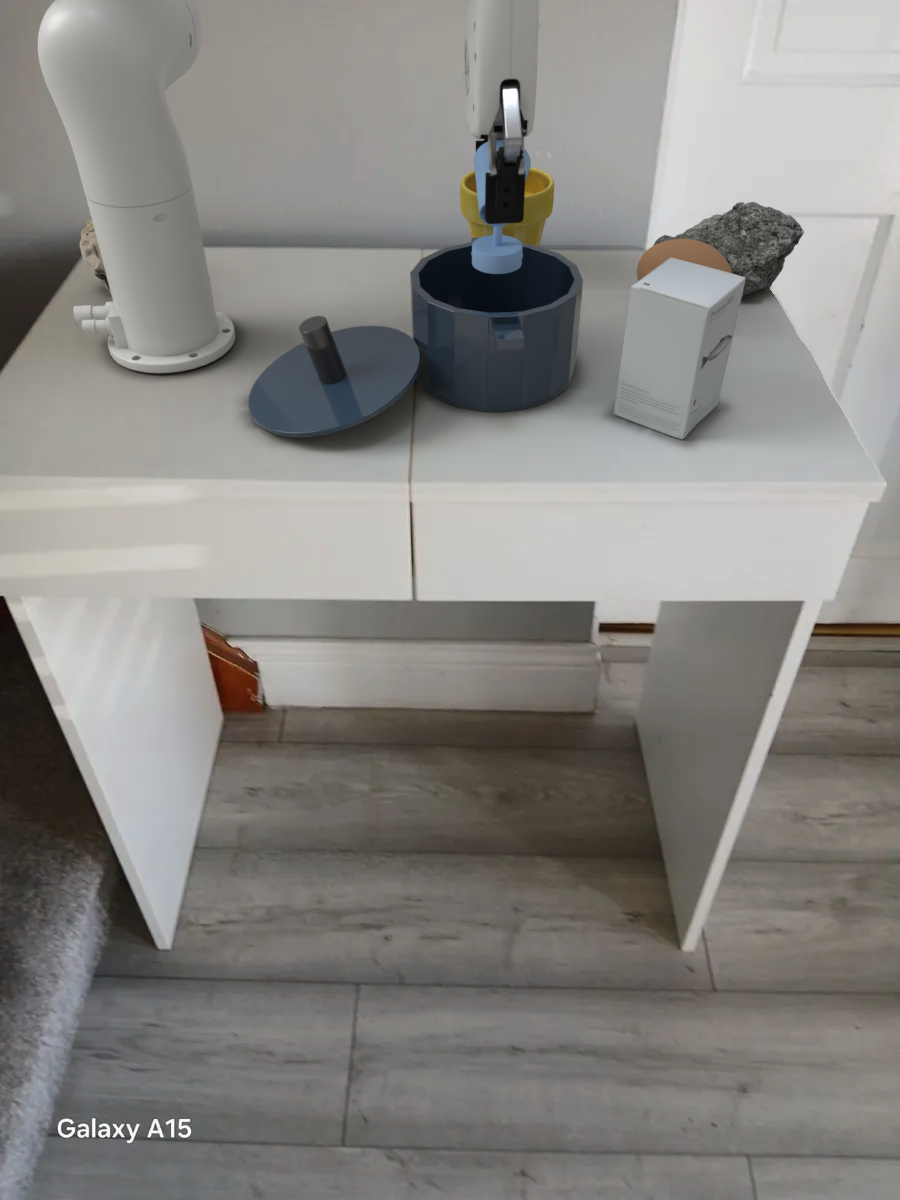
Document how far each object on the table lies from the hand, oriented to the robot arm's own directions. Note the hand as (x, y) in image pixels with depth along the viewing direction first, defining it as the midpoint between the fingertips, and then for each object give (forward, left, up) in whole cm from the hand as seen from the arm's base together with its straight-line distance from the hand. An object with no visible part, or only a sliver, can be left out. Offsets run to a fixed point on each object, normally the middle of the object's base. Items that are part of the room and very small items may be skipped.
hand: (498, 202), depth 83 cm
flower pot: (+4, +23, -16) cm, 28 cm away
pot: (0, 0, -16) cm, 16 cm away
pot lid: (-15, -4, -14) cm, 21 cm away
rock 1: (-38, +22, -16) cm, 47 cm away
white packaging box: (+15, -9, -16) cm, 24 cm away
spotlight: (0, 0, -5) cm, 5 cm away
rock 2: (+25, +14, -10) cm, 31 cm away
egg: (+25, +6, -12) cm, 28 cm away
